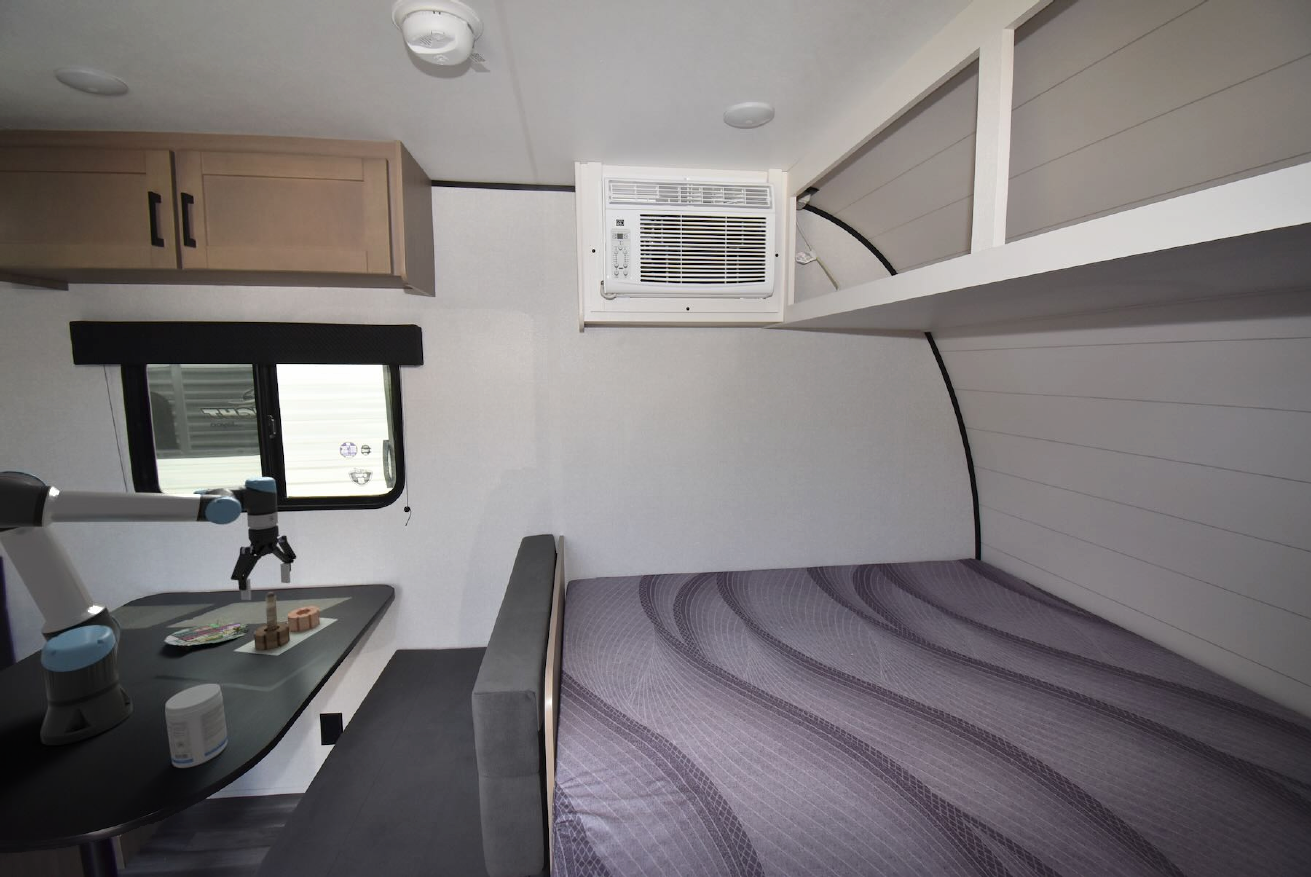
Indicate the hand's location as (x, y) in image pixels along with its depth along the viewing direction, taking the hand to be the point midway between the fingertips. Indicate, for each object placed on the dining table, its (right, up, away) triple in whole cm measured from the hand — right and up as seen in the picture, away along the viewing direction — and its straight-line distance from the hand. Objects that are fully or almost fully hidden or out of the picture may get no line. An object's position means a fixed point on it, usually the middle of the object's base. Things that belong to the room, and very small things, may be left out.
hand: (266, 590), depth 157 cm
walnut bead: (0, -18, +2) cm, 18 cm away
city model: (-24, -19, +8) cm, 32 cm away
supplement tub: (+19, -25, -44) cm, 54 cm away
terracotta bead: (+2, -17, +14) cm, 22 cm away
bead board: (+1, -18, +8) cm, 20 cm away
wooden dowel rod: (0, -18, +2) cm, 18 cm away
